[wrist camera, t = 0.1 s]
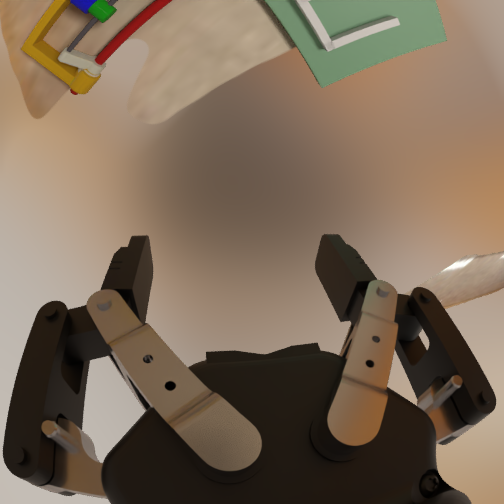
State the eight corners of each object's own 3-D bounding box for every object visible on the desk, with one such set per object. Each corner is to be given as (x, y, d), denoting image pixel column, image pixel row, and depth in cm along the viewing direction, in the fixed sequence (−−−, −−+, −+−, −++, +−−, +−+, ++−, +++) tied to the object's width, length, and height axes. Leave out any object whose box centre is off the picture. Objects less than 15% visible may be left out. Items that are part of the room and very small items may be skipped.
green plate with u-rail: (243, -25, 20) (246, -26, 19) (397, -70, 11) (409, -70, 9) (318, 84, 35) (325, 92, 33) (441, 37, 26) (452, 43, 24)
